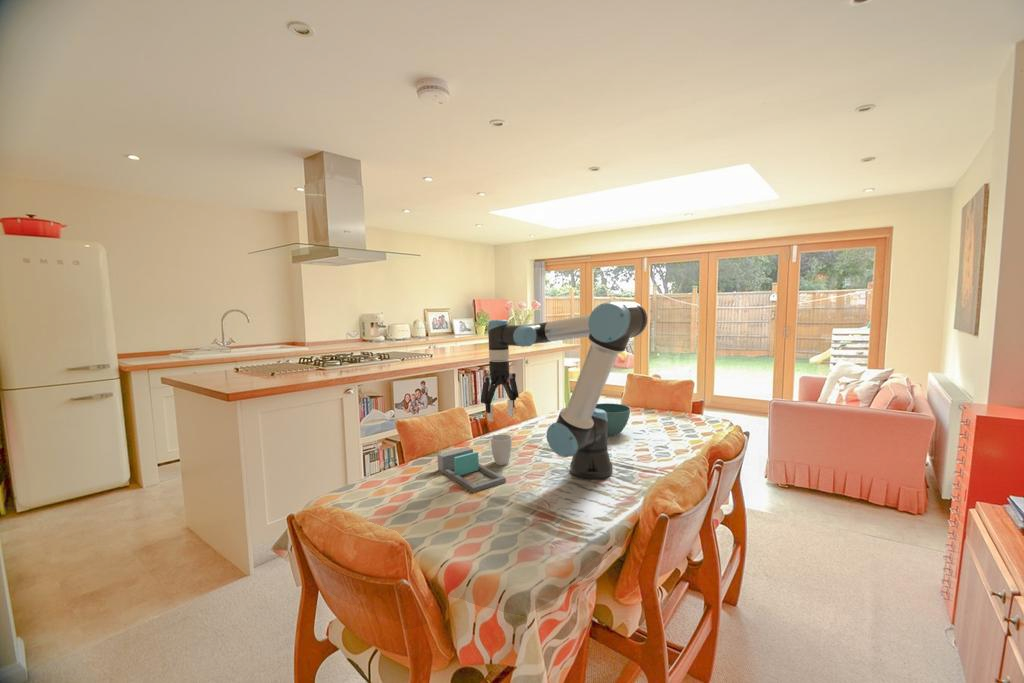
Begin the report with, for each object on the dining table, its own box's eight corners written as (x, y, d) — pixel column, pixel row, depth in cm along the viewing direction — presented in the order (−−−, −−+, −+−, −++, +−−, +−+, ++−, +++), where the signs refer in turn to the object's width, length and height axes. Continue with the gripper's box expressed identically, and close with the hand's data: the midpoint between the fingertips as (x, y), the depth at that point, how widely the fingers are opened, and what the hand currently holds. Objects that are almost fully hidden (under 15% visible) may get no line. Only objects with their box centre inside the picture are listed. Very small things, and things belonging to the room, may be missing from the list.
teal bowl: (599, 425, 215) (599, 401, 214) (635, 431, 205) (635, 405, 204) (583, 435, 201) (583, 409, 199) (621, 442, 190) (621, 414, 189)
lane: (505, 482, 150) (505, 465, 150) (473, 492, 143) (473, 474, 142) (468, 461, 171) (467, 446, 170) (438, 469, 163) (437, 454, 163)
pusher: (478, 470, 161) (478, 452, 161) (456, 476, 156) (455, 458, 155) (472, 466, 165) (471, 449, 164) (450, 472, 159) (449, 454, 159)
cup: (515, 460, 171) (515, 435, 170) (506, 467, 163) (506, 441, 163) (497, 457, 174) (496, 433, 173) (487, 464, 167) (486, 439, 166)
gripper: (515, 356, 175) (517, 412, 177) (469, 362, 162) (471, 421, 164) (527, 358, 169) (528, 415, 171) (480, 364, 156) (482, 425, 158)
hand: (500, 418), depth 167 cm, fingers open, 9 cm apart
